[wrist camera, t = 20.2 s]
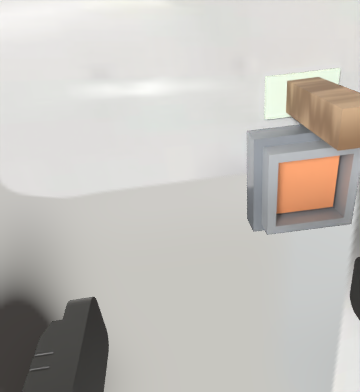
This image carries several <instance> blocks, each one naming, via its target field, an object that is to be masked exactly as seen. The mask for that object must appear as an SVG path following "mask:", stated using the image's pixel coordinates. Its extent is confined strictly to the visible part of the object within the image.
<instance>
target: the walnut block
mask: <svg viewBox="0 0 360 392" xmlns="http://www.w3.org/2000/svg"><path fill="white" fill-rule="evenodd" d="M286 113H287V114H289V115H290V116H291V117H293V118H294V119H296V120H297V121H298V122H300V123H301V124H302V125H304V126H305V127H306V128H308V129H309V130H310V131H312V132H313V133H314V134H316V135H317V136H318V137H320V138H321V139H322V140H324V141H325V142H326V143H328V144H329V145H330V146H332V147H333V148H335V149H336V150H337V151H340V150H348V149H355V148H360V93H359V92H356V91H354V90H351V89H349V88H346V87H343V86H341V85H338V84H336V83H333V82H331V81H328V80H325V79H323V78H320V77H313V78H305V79H298V80H290V81H287V96H286Z"/></svg>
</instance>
